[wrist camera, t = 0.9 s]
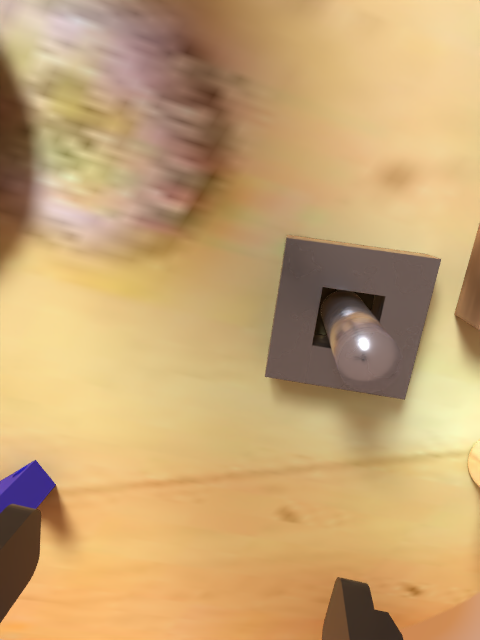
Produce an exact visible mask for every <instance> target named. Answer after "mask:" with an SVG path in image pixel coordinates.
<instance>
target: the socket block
mask: <svg viewBox="0 0 480 640" xmlns="http://www.w3.org/2000/svg"><path fill="white" fill-rule="evenodd" d="M440 262H441V259H439V258H436V257H433V256H430V255H427V254H422V253H415V252H407V251H400V250H393V249H386V248H378V247H371V246H364V245H357V244H350V243H342V242H335V241H328V240H321V239H313V238H306V237H299V236H292V235H287V237H286V243H285V250H284V256H283V262H282V269H281V275H280V281H279V288H278V294H277V301H276V307H275V313H274V320H273V326H272V333H271V339H270V345H269V352H268V358H267V365H266V373H265V377H270V378H276V379H282V380H288V381H294V382H301V383H307V384H313V385H319V386H325V387H331V388H337V389H344V390H350V391H356V392H361V391H357V390H355V389H353V388H351V387H349V386H348V385H347V384H346V383H345V382H344V381H343V380H342V378H341V376H340V374H339V371H338V368H337V365H336V362H335V359H334V355H333V352H332V349H331V346H330V342H329V339H328V336H325V335H319V334H314V331H315V326H316V320H317V315H318V310H319V304H320V299H321V293H322V288H323V287H326V288H333V289H340V290H347V291H353V292H360V293H367V294H374V295H375V297H374V301H373V306H372V311H371V312H372V314H373V315H374V316H375V317H376V319H377V320H378V321H379V322H380V324H381V325H382V326H383V328H384V329H385V330H386V331H387V333H388V334H389V335H390V336H391V338H392V339H393V340H394V341H395V343H396V344H397V345H398V347H399V348H400V350H401V353H402V356H403V366H402V370H401V373H400V375H399V377H398V378H397V380H396V381H395V382H394V383H393V384H392V385H390V386H389V387H387V388H385V389H383V390H381V391H377V392H369V393H368V394H374V395H380V396H387V397H393V398H399V399H405V397H406V393H407V389H408V385H409V381H410V378H411V374H412V370H413V366H414V362H415V358H416V354H417V351H418V347H419V343H420V339H421V335H422V331H423V327H424V324H425V320H426V316H427V312H428V308H429V304H430V300H431V296H432V293H433V289H434V285H435V281H436V277H437V273H438V269H439V266H440ZM362 393H367V392H362Z"/></svg>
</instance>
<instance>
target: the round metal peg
mask: <svg viewBox="0 0 480 640" xmlns="http://www.w3.org/2000/svg"><path fill="white" fill-rule="evenodd" d="M321 317H322V320H323V323H324V326H325V330H326V333H327V336H328V339H329V342H330V346H331V349H332V352H333V355H334V359H335V362H336V365H337V368H338V371H339V374H340V376H341V378H342V380H343V381H344V382H345V383H346V384H347V385H348V386H349V387H351V388H353V389H355V390H357V391H361V392H367V393H369V392H377V391H381V390H383V389H385V388H387V387H389V386H390V385H392V384H393V383H394V382H395V381H396V380H397V378H398V377H399V375H400V373H401V370H402V366H403V356H402V353H401V350H400V348H399V347H398V345H397V344H396V343H395V341H394V340H393V339H392V338H391V336H390V335H389V334H388V333H387V331H386V330H385V329H384V328H383V326H382V325H381V324H380V322H379V321H378V320H377V319H376V317H375V316H374V315H373V314H372V312H371V311H370V310H369V309H368V307H367V306H366V305H365V304H364V302H363V301H362V300H361V299H360V297H359V296H358V295H357V294H355V293H353V292H351V291H347V290H339V291H335V292H333V293H331V294H330V295H328V296H327V297H326V298H325V300H324V301H323V303H322V306H321Z"/></svg>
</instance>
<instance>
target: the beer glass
mask: <svg viewBox="0 0 480 640" xmlns="http://www.w3.org/2000/svg"><path fill="white" fill-rule="evenodd" d="M468 469H469V472H470V475H471V477H472V479H473V480H474V482H475V483H476V484H477V485H478V486H479V487H480V439H479V440H478V441H477V442H476V443H475V445H474V446H473V447H472V449H471V451H470V454H469V457H468Z"/></svg>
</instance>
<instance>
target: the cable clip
mask: <svg viewBox="0 0 480 640" xmlns="http://www.w3.org/2000/svg"><path fill="white" fill-rule="evenodd" d="M55 485H56V484H55V483H54V482H53V481H52V479H51V478H50V477H49V476H48V475H47V473H46V472H45V471H44V470H43V468H42V467H41V466H40V465H39V464H38V462H37V461H36V460H35V461H33V462H31V463H30V464H28V465H26V466H25V467H23V468H21V469H20V470H18V471H16V472H15V473H13V474H11V475H10V476H8V477H6V478H5V479H3V480H1V481H0V513H1V512H2V511H3V510H4V509H5V508H6V507H7V506H8V505H10V504H16V505H20V506H25V507H29V508H34V509H36V508H37V507H38V506H39V505H40V503H41V502H42V501H43V500H44V499H45V497H46V496H47V495H48V494H49V493H50V491H51V490H52V489H53V488H54V487H55Z"/></svg>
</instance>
